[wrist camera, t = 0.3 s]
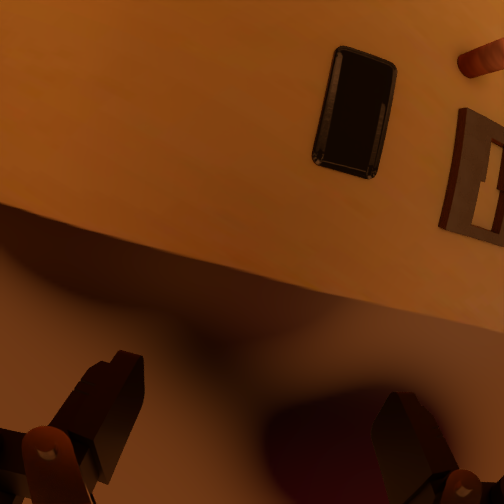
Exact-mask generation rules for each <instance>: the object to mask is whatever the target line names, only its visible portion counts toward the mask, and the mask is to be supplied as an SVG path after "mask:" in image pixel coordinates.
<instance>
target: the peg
mask: <svg viewBox="0 0 504 504" xmlns="http://www.w3.org/2000/svg"><path fill="white" fill-rule="evenodd" d="M457 64H458V67H459V69H460V71H461V72H462V74H463V75H464V76H466V77H468V78H474V77H477V76H481V75H484V74H488V73H492V72H495V71H499V70H503V69H504V38H501V39H499V40H496V41H493V42H491V43H488V44H486V45H483V46H481V47H478V48H476V49H474V50H471V51H469V52H466V53H464V54H462V55H460V56H459V57H458V59H457Z"/></svg>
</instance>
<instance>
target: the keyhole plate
mask: <svg viewBox="0 0 504 504" xmlns="http://www.w3.org/2000/svg"><path fill="white" fill-rule="evenodd" d="M491 142H493V143H495V144H497V145H498V146H500V147H502V148H503V153H502V160H501V167H500V173H499V179H498V185H497V189H498V190H500V195H499V200H498V205H497V209H496V214H495V218H494V222H493V226H492V230H491V231H490V230H487V229H484V228H481V227H478V226H474V225H471V223H472V219H473V214H474V210H475V206H476V201H477V196H478V192H479V187H480V181H482V182H485V179H486V174H487V168H488V161H489V155H490V147H491ZM438 227H440V228H443V229H445V230H448V231H451V232H455V233H458V234H462V235H465V236H469V237H472V238H475V239H479V240H482V241H486V242H489V243H492V244H495V245H499V246H502V247H504V127H503V126H501V125H499V124H497V123H496V122H494V121H492V120H490V119H488V118H487V117H485V116H483V115H481V114H479V113H477V112H475V111H473V110H471V109H469V108H461V109H459V113H458V122H457V130H456V138H455V145H454V152H453V158H452V164H451V170H450V175H449V180H448V185H447V190H446V195H445V199H444V204H443V208H442V213H441V217H440V221H439V225H438Z"/></svg>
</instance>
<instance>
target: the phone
mask: <svg viewBox="0 0 504 504" xmlns="http://www.w3.org/2000/svg"><path fill="white" fill-rule="evenodd" d="M396 77H397V68H396V66H395V65H394V64H393V63H392V62H390V61H387V60H385V59H382V58H379V57H377V56H374V55H371V54H368V53H366V52H363V51H360V50H357V49H354V48H351V47H347V46H340V47H338V48H337V49H336V50H335V52H334V56H333V60H332V65H331V70H330V75H329V80H328V84H327V89H326V94H325V98H324V103H323V107H322V112H321V116H320V121H319V125H318V130H317V134H316V138H315V143H314V147H313V151H312V159H313V161H314V163H316V164H317V165H319V166H322V167H326V168H330V169H333V170H337V171H340V172H344V173H347V174H351V175H354V176H358V177H361V178H364V179H372V178H373V177H375V175H376V174H377V171H378V166H379V162H380V158H381V154H382V149H383V145H384V140H385V136H386V131H387V126H388V121H389V116H390V111H391V106H392V100H393V95H394V89H395V83H396Z"/></svg>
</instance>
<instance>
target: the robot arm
mask: <svg viewBox="0 0 504 504" xmlns="http://www.w3.org/2000/svg"><path fill="white" fill-rule="evenodd" d="M144 394H145V385H144V359H143V356H141V355H138V354H133V353H130V352H126V351H122V350H119V351H118V352H117V353H116V355H115V356H114V358H113V359H112V361H111V362H110V363H107V362H104V361H100V362H98V363H97V364H95V365H94V366H92V367H90V368H89V369H88V370H87V371H86V373H85V374H84V376H83V377H82V378H81V381H80V382H78V384H77V385H76V387H75V389H74V391H72V392H71V394H70V395H69V397H68V398H67V399H66V401H65V402H64V404H63V405H62V407H61V408H60V409H59V411H58V413H57V414H56V415H55V417H54V418H53V420H52V421H51V422H50V424H49V425H48V426H39V427H36V428H33V429H31V430H30V431H29V432H28V433H20V432H16V431H11V430H7V429H2V428H0V504H22V502H23V500H24V498H25V497H26V498H30V499H31V500H32V504H97V502H96V499H95V497H94V494H93V489H94V487H95V485H96V482H97V481H99V482H102V483H105V484H107V485H108V484H109V481H110V479H111V477H112V474H113V472H114V470H115V467H116V465H117V462H118V460H119V458H120V455H121V453H122V451H123V449H124V446H125V444H126V442H127V439H128V437H129V435H130V432H131V430H132V428H133V426H134V423H135V421H136V419H137V417H138V414H139V412H140V410H141V407H142V404H143V400H144ZM438 427H439V426H438V424H437V422H436V420H435V418H434V416H433V415H432V414H431V413H430V412H429V411H428V410H427V409H426V408H425V407H424V406H421V405H420V403H419V401H418V399H417V397H416V395H415V394H414V393H413V392H392V393H390V394H389V396H388V398H387V399H386V401H385V403H384V405H383V406H382V408H381V410H380V412H379V413H378V415H377V417H376V419H375V420H374V422H373V425H372V428H371V439H372V442H373V446H374V449H375V453H376V456H377V459H378V463H379V466H380V470H381V473H382V476H383V480H384V484H385V488H386V491H387V495H388V499H389V502H390V504H504V476H503V477H502V478H501V479H500V480H499V481H498V482H497V483H494V482H481V481H480V479H479V478H478V477H477V475H475V474H474V473H473V472H471V471H469V470H465V469H459V467H458V465H457V463H456V461H455V459H454V456H453V454H452V452H451V450H450V448H449V446H448V444H447V442H446V440H445V438H444V437H443V434H442V432H441V430H440V429H438Z"/></svg>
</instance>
